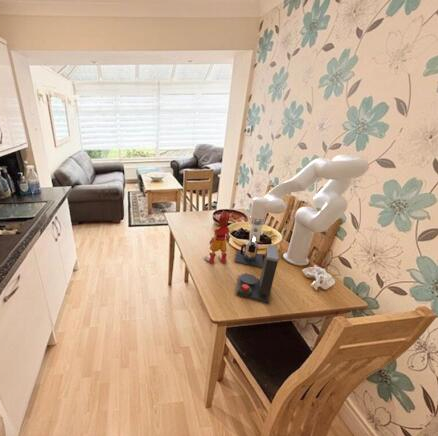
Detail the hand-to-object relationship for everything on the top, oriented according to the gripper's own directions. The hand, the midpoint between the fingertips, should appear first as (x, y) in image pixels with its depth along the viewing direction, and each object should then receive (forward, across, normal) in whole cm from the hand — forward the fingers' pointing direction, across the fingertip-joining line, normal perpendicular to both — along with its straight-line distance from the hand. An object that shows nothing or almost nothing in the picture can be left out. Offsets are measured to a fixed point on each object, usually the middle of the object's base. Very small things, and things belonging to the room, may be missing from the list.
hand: (251, 247), depth 134 cm
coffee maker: (+7, -27, -3) cm, 28 cm away
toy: (+7, -9, +17) cm, 21 cm away
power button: (+5, -32, +1) cm, 32 cm away
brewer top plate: (+7, 0, 0) cm, 7 cm away
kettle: (+7, -1, +1) cm, 7 cm away
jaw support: (+8, -10, -32) cm, 34 cm away
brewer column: (+4, -26, -3) cm, 27 cm away
